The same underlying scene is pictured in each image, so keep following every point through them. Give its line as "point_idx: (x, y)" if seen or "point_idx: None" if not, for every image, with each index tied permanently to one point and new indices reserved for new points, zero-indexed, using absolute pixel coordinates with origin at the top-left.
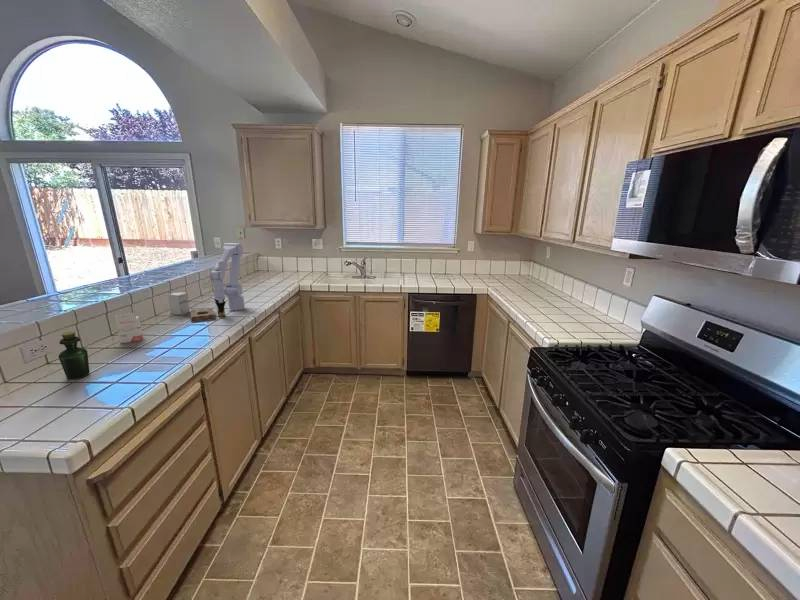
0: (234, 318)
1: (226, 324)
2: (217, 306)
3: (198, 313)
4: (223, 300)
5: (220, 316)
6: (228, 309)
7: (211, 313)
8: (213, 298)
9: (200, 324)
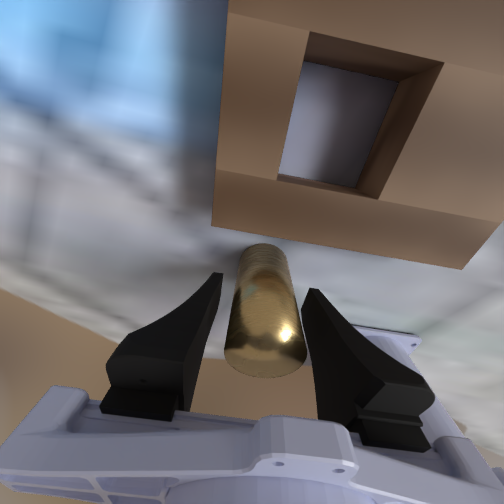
0: (173, 306)
1: (51, 240)
2: (252, 309)
3: (420, 87)
4: (320, 415)
5: (241, 256)
6: (378, 331)
7: (259, 211)
8: (253, 439)
9: (99, 41)
